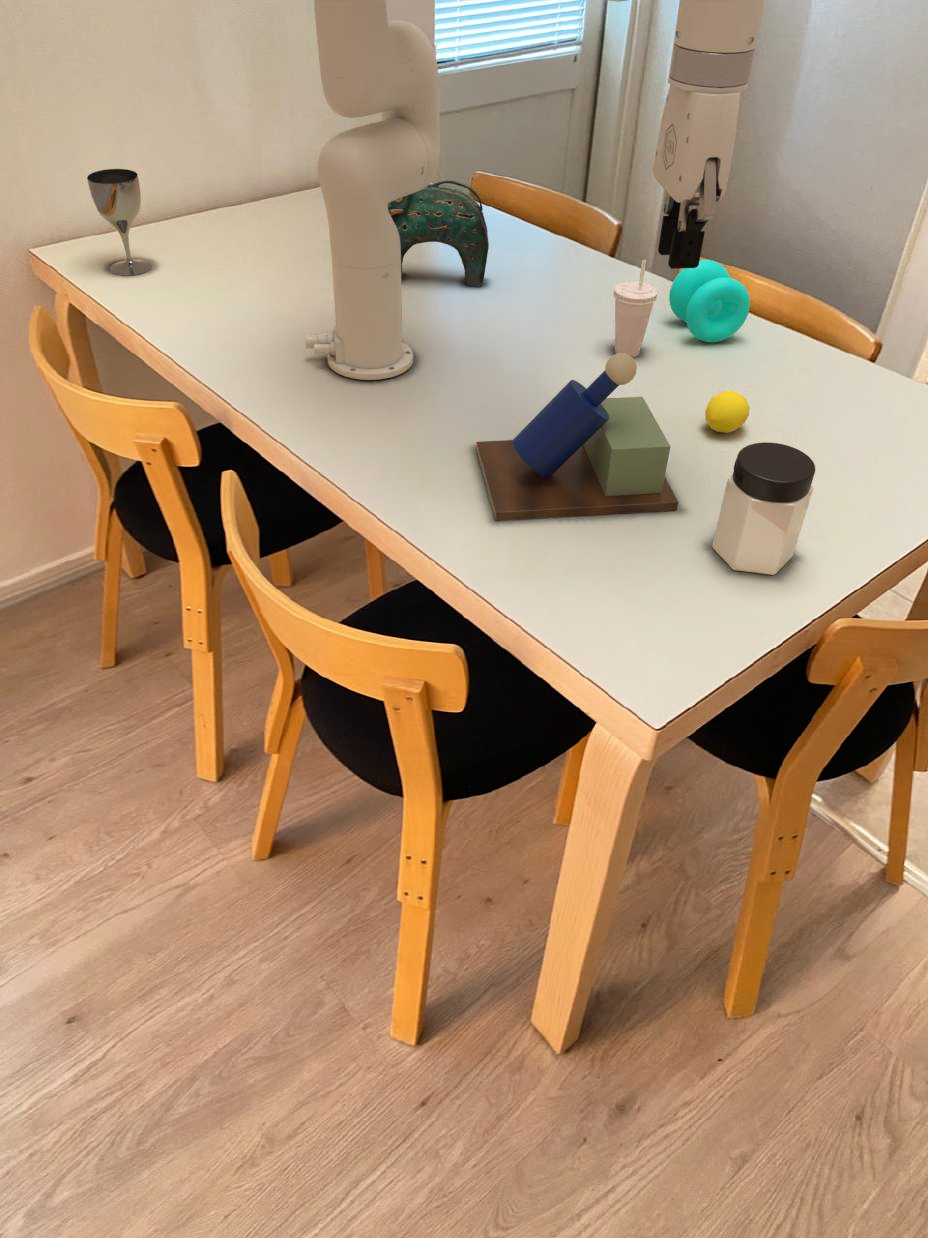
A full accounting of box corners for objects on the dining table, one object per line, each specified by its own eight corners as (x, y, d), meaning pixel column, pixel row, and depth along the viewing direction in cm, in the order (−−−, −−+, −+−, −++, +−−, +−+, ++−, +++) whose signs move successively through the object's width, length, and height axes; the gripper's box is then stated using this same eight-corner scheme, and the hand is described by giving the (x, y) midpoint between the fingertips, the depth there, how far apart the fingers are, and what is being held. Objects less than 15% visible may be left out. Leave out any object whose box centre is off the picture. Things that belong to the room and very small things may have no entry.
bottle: (515, 487, 117) (524, 370, 107) (506, 459, 122) (514, 345, 112) (626, 482, 118) (645, 366, 108) (613, 454, 123) (630, 341, 113)
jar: (737, 521, 115) (760, 431, 107) (802, 549, 111) (830, 458, 103) (699, 555, 109) (720, 464, 102) (765, 586, 106) (792, 493, 98)
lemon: (725, 446, 128) (733, 409, 124) (691, 430, 131) (698, 394, 127) (754, 428, 131) (763, 392, 128) (721, 413, 134) (729, 377, 131)
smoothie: (646, 363, 145) (661, 270, 136) (604, 358, 146) (615, 266, 137) (649, 344, 150) (663, 254, 141) (607, 340, 151) (619, 249, 142)
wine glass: (164, 265, 169) (148, 174, 159) (129, 279, 164) (110, 186, 154) (132, 255, 172) (114, 165, 162) (97, 269, 167) (76, 177, 157)
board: (495, 520, 114) (496, 512, 113) (476, 449, 126) (476, 441, 125) (677, 510, 116) (678, 502, 115) (641, 441, 128) (642, 433, 127)
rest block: (605, 496, 116) (611, 449, 112) (582, 444, 125) (588, 398, 121) (661, 493, 117) (670, 446, 112) (635, 441, 126) (642, 396, 121)
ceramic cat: (369, 282, 166) (364, 157, 152) (376, 268, 170) (372, 145, 157) (485, 291, 164) (490, 165, 151) (488, 276, 169) (494, 153, 156)
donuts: (685, 347, 150) (696, 284, 143) (661, 320, 157) (672, 258, 150) (745, 343, 151) (759, 280, 145) (719, 316, 159) (732, 255, 152)
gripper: (648, 48, 98) (623, 234, 110) (699, 88, 86) (665, 292, 98) (719, 48, 99) (687, 232, 111) (780, 88, 86) (737, 289, 99)
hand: (677, 258), depth 104 cm, fingers open, 3 cm apart
